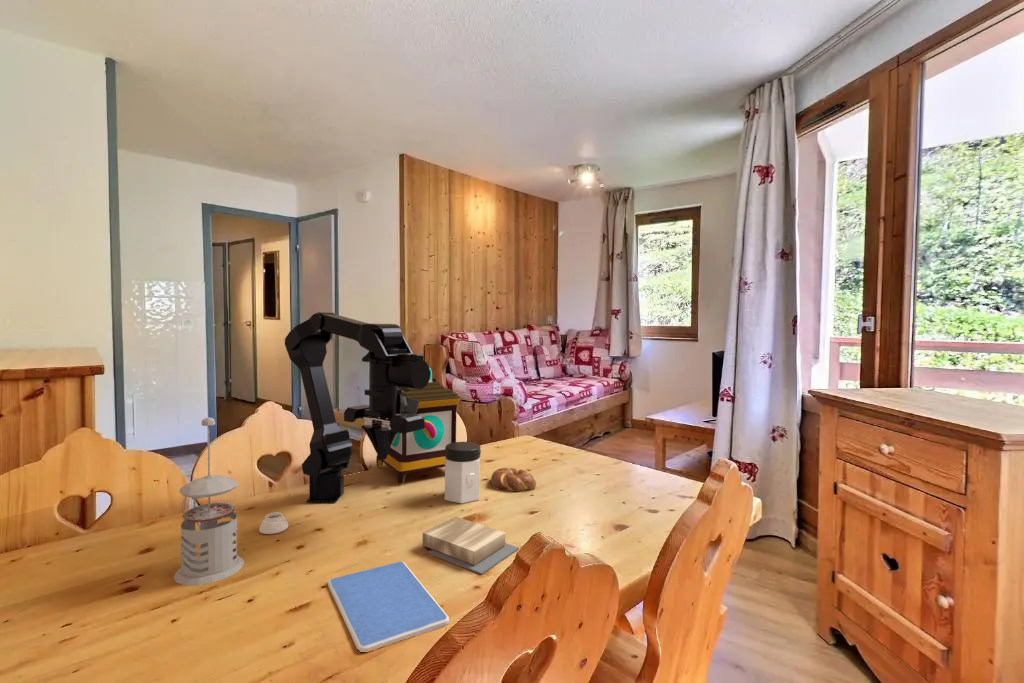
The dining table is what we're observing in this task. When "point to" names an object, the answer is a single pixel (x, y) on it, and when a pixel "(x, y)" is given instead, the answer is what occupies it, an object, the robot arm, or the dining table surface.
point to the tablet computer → (385, 605)
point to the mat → (482, 565)
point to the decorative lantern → (425, 431)
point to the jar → (462, 472)
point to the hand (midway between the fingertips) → (383, 459)
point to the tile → (464, 540)
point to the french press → (208, 531)
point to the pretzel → (512, 479)
